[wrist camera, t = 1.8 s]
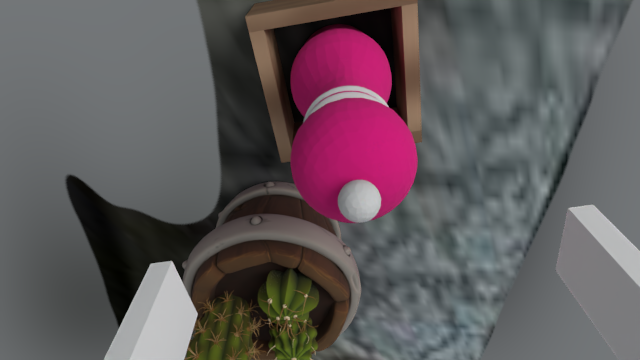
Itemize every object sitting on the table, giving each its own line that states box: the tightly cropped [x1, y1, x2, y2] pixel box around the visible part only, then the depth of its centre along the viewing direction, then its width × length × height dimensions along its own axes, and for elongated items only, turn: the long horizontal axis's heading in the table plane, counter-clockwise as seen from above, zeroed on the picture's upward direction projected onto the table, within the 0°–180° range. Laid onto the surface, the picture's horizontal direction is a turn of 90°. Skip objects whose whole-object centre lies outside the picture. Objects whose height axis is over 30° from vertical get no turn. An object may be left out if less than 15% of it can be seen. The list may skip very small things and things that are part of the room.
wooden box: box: [245, 0, 422, 163], centre depth 31 cm, size 11×11×5 cm
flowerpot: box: [182, 181, 361, 360], centre depth 33 cm, size 14×15×20 cm
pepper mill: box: [290, 24, 417, 223], centre depth 24 cm, size 7×7×20 cm
